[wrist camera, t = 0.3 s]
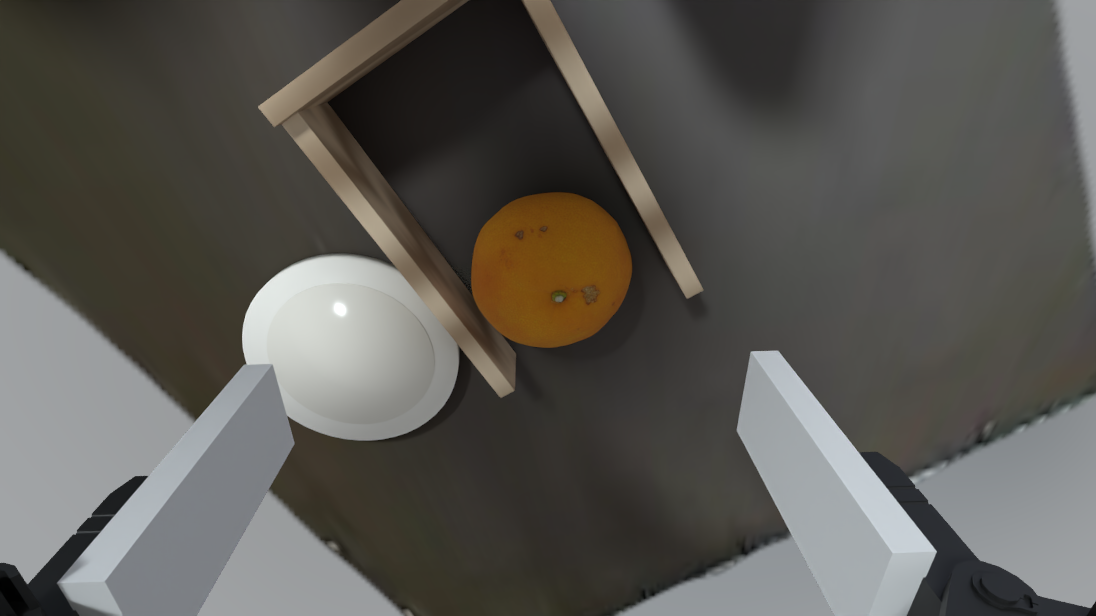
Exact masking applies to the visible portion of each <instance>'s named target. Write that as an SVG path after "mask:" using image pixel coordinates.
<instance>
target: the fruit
mask: <svg viewBox="0 0 1096 616" xmlns="http://www.w3.org/2000/svg"><path fill="white" fill-rule="evenodd" d="M631 275H632V258H631V254H630V251H629V248H628V245H627V242H626V239H625V237H624V235H623V233H622V231H621V229H620V227H619V225H618V224H617V222H616V221H615V220H614V218H613V217H611V216H610V215H609V214H608V213H607V212H606V211H605V210H604V209H603V208H602V207H600V206H599V205H598V204H596V203H595V202H593V201H592V200H590V199H587V198H585V197H582V196H580V195H577V194H574V193H567V192H549V193H540V194H534V195H529V196H525V197H521V198H519V199H516V200H514V201H512V202H510V203H509V204H507V205H506V206H504V207H503V208H502V209H501V210H499V211H498V212H497V213H496V214H495V215H494V216H493V217H492V218H491V219H490V220H488V221H487V223H486V224H485V225H484V226H483V227H482V229H481V231H480V233H479V235H478V238H477V240H476V244H475V247H474V252H473V259H472V270H471V286H472V293H473V297H474V300H475V302H476V304H477V306H478V308H479V310H480V311H481V313H482V314H483V315H484V317H485V318H486V319H487V320H488V321H489V322H490V324H491V325H492V326H493V327H494V328H495V329H496V330H497V331H498V332H500V333H501V334H502V335H504V336H505V337H507V338H508V339H510V340H512V341H514V342H517V343H520V344H524V345H528V346H533V347H542V348H553V347H559V346H565V345H569V344H572V343H575V342H578V341H581V340H583V339H586V338H588V337H590V336H592V335H594V334H595V333H597V332H598V331H599V330H600V329H601V328H602V327H603V326H604V325H605V324H606V323H607V322H608V321H609V320H610V318H611V317H612V316H613V315H614V314H615V313H616V312H617V310H618V308H619V307H620V305H621V304H622V302H623V299H624V298H625V295H626V293H627V290H628V287H629V284H630V280H631Z"/></svg>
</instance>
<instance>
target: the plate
mask: <svg viewBox="0 0 1096 616" xmlns="http://www.w3.org/2000/svg"><path fill="white" fill-rule="evenodd" d="M242 342H243V351H244V356H245V360H246V363H247V365H256V364H273V367H274V371H275V374H276V378H277V382H278V385H279V389H280V393H281V396H282V400H283V404H284V407H285V411H286V414H287V416H289V417H290V418H292V419H293V420H294V421H296V422H298V423H300V424H302V425H304V426H305V427H308V428H310V429H312V430H315V431H317V432H320V433H323V434H326V435H329V436H333V437H337V438H342V439H349V440H381V439H387V438H392V437H396V436H399V435H402V434H405V433H408V432H410V431H412V430H414V429H416V428H418V427H420V426H421V425H423V424H424V423H426V422H427V421H429V420H430V419H431V418H432V417H433V416H435V415H436V414H437V413H438V412H439V410H440V409H441V408H442V407H443V406H444V404H445V403H446V401H447V400H448V398H449V397H450V394H451V392H452V390H453V388H454V385H455V381H456V378H457V374H458V369H459V361H460V347H459V345H458V344H457V343H456V342H455V340H454V339H453V338H452V337H451V335H450V334H449V333H448V332H447V330H446V329H445V328H444V327H443V325H442V324H441V323H440V322H439V320H438V319H437V318H436V317H435V315H434V314H433V313H432V312H431V310H430V309H429V308H428V307H427V305H426V304H425V303H424V302H423V300H422V299H421V298H420V297H419V295H418V294H417V293H416V292H415V290H414V289H413V288H412V287H411V285H410V284H409V283H408V282H407V280H406V279H405V278H404V277H403V275H402V274H401V273H400V272H399V270H398V269H397V268H396V267H395V265H393V264H391V263H388V262H386V261H383V260H381V259H377V258H373V257H369V256H365V255H358V254H350V253H333V254H322V255H318V256H313V257H309V258H306V259H303V260H301V261H298V262H295V263H294V264H292V265H290V266H288V267H286V268H285V269H283V270H282V271H280V272H279V273H278V274H277V275H275V276H274V277H273V278H272V279H271V280H270V281H269V282H268V283H267V284H266V285H265V286H264V287H263V288H262V289H261V290H260V291H259V292H258V293H257V295H256V296H255V298H254V299H253V301H252V302H251V304H250V306H249V309H248V311H247V313H246V316H245V320H244V324H243V333H242Z"/></svg>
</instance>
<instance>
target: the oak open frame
mask: <svg viewBox="0 0 1096 616" xmlns="http://www.w3.org/2000/svg"><path fill="white" fill-rule="evenodd" d="M467 1H469V0H401V1H400V2H398V3H397V4H396V5H394V6H393V7H392V8H390V9H389V10H388V11H386V12H385V13H384V14H382V15H381V16H380V17H378V18H377V19H375V20H374V21H373V22H371V23H370V24H369V25H367V26H366V27H365V28H363V29H362V30H361V31H359V32H358V33H357V34H355V35H354V36H353V37H351V38H350V39H349V40H347V41H346V42H345V43H343V44H342V45H341V46H339V47H338V48H336V49H335V50H334V51H332V52H331V53H330V54H328V55H327V56H326V57H324V58H323V59H322V60H320V61H319V62H318V63H316V64H315V65H314V66H312V67H311V68H310V69H308V70H307V71H306V72H304V73H303V74H301V75H300V76H299V77H297V78H296V79H295V80H293V81H292V82H291V83H289V84H288V85H287V86H285V87H284V88H283V89H281V90H280V91H279V92H277V93H276V94H275V95H273V96H272V97H271V98H269V99H268V100H267V101H265V102H264V103H262V104H261V105H260V106H258V108H259V109H260V110H261V111H262V113H263V114H264V115H265V116H266V118H267V119H268V120H269V121H270V123H271V124H272V125H273V126H274V127H275V126H278V125H281V124H282V126H283V127H284V128H285V129H286V131H287V132H288V133H289V134H290V136H291V137H292V138H293V139H294V141H295V142H296V143H297V144H298V146H299V147H300V148H301V149H302V150H303V152H304V153H305V154H306V155H307V157H308V158H309V159H310V160H311V162H312V163H313V164H314V165H315V167H316V168H317V169H318V170H319V172H320V173H321V174H322V175H323V177H324V178H325V179H326V180H327V182H328V183H329V184H330V185H331V187H332V188H333V189H334V190H335V192H336V193H337V194H338V195H339V197H340V198H341V199H342V200H343V202H344V203H345V204H346V205H347V207H348V208H349V209H350V210H351V212H352V213H353V214H354V215H355V217H356V218H357V219H358V220H359V222H360V223H361V224H362V225H363V227H364V228H365V229H366V230H367V232H368V233H369V234H370V235H371V237H372V238H373V239H374V240H375V242H376V243H377V244H378V245H379V247H380V248H381V249H382V250H383V252H384V253H385V254H386V255H387V257H388V258H389V259H390V260H391V262H392V263H393V264H394V265H395V267H396V268H397V269H398V270H399V272H400V273H401V274H402V275H403V277H404V278H405V279H406V280H407V282H408V283H409V284H410V285H411V287H412V288H413V289H414V290H415V292H416V293H417V294H418V295H419V297H420V298H421V299H422V300H423V302H424V303H425V304H426V305H427V307H428V308H429V309H430V310H431V312H432V313H433V314H434V315H435V317H436V318H437V319H438V320H439V322H440V323H441V324H442V325H443V327H444V328H445V329H446V330H447V332H448V333H449V334H450V335H451V337H452V338H453V339H454V340H455V342H456V343H457V344H458V345H459V347H460V348H461V349H462V350H463V352H464V353H465V354H466V355H467V357H468V358H469V359H470V360H471V362H472V363H473V364H474V365H475V367H476V368H477V369H478V370H479V372H480V373H481V374H482V375H483V377H484V378H485V379H486V380H487V382H488V383H489V384H490V385H491V387H492V388H493V389H494V390H495V392H496V393H497V394H498V395H499V397H500V398H502V397H504V396H506V395H507V394H509V393H511V392H513V391H515V371H516V353H515V352H514V350H513V349H512V348H511V346H510V345H509V344H508V342H507V341H506V340H505V338H504V337H503V336H502V334H501V333H500V332H498V331H497V330H496V329H495V328H494V327H493V326H492V325H491V324H490V322H489V321H488V320H487V319H486V318H485V317H484V315H483V314H482V313H481V311H480V310H479V308H478V306H477V304H476V302H475V300H474V297H473V296H472V294H471V293H470V292H469V290H468V289H467V288H466V286H465V285H464V284H463V282H462V281H461V280H460V278H459V277H458V276H457V274H456V273H455V272H454V270H453V269H452V268H451V266H450V265H449V264H448V262H447V261H446V260H445V258H444V257H443V256H442V254H441V253H440V252H439V250H438V249H437V248H436V246H435V245H434V244H433V242H432V241H431V240H430V238H429V237H428V236H427V234H426V233H425V232H424V230H423V229H422V228H421V226H420V225H419V224H418V222H417V221H416V220H415V218H414V217H413V216H412V214H411V213H410V212H409V210H408V209H407V208H406V206H405V205H404V204H403V202H402V201H401V200H400V198H399V197H398V196H397V194H396V193H395V192H394V190H393V189H392V188H391V186H390V185H389V184H388V182H387V181H386V180H385V178H384V177H383V176H382V174H381V173H380V172H379V170H378V169H377V168H376V166H375V165H374V164H373V162H372V161H371V160H370V158H369V157H368V156H367V154H366V153H365V152H364V150H363V149H362V148H361V146H360V145H359V144H358V142H357V141H356V140H355V138H354V137H353V136H352V134H351V133H350V132H349V130H348V129H347V128H346V126H345V125H344V124H343V122H342V121H341V120H340V118H339V117H338V116H337V114H336V113H335V112H334V110H333V109H332V108H331V106H330V105H329V104H328V102H329V101H330V100H331V99H333V98H334V97H335V96H337V95H338V94H340V93H341V92H342V91H344V90H345V89H347V88H348V87H349V86H351V85H352V84H353V83H355V82H356V81H358V80H359V79H360V78H362V77H363V76H365V75H366V74H367V73H369V72H370V71H372V70H373V69H374V68H376V67H377V66H378V65H380V64H381V63H383V62H384V61H385V60H387V59H388V58H390V57H391V56H392V55H394V54H395V53H397V52H398V51H399V50H401V49H402V48H403V47H405V46H406V45H408V44H409V43H410V42H412V41H413V40H415V39H416V38H417V37H419V36H420V35H422V34H423V33H424V32H426V31H427V30H428V29H430V28H431V27H433V26H434V25H435V24H437V23H438V22H440V21H441V20H442V19H444V18H445V17H447V16H448V15H449V14H451V13H452V12H453V11H455V10H456V9H458V8H459V7H460V6H462V5H463V4H465V3H466V2H467ZM521 1H522V3H523V5H524V7H525V8H526V10H527V12H528V14H529V16H530V18H531V19H532V21H533V23H534V25H535V27H536V28H537V30H538V32H539V34H540V36H541V38H542V39H543V41H544V43H545V45H546V47H547V48H548V50H549V52H550V54H551V56H552V57H553V59H554V61H555V63H556V65H557V67H558V68H559V70H560V72H561V74H562V76H563V77H564V79H565V81H566V83H567V85H568V87H569V88H570V90H571V92H572V94H573V96H574V97H575V99H576V101H577V103H578V105H579V106H580V108H581V110H582V112H583V114H584V116H585V117H586V119H587V121H588V123H589V125H590V126H591V128H592V130H593V132H594V134H595V136H596V137H597V139H598V141H599V143H600V145H601V146H602V148H603V150H604V152H605V154H606V155H607V157H608V159H609V161H610V163H611V165H612V166H613V168H614V170H615V172H616V174H617V175H618V177H619V179H620V181H621V183H622V185H623V186H624V188H625V190H626V192H627V194H628V195H629V197H630V199H631V201H632V203H633V204H634V206H635V208H636V210H637V212H638V214H639V215H640V217H641V219H642V221H643V223H644V224H645V226H646V228H647V230H648V232H649V234H650V235H651V237H652V239H653V241H654V243H655V244H656V246H657V248H658V250H659V252H660V253H661V255H662V257H663V259H664V261H665V263H666V264H667V266H668V268H669V270H670V271H671V273H672V275H673V276H674V278H675V280H676V281H677V283H678V285H679V286H680V288H681V290H682V291H683V293H684V295H685V296H686V298H687V299H688V298H690V297H692V296H694V295H696V294H697V293H699V292H701V291H703V288H702V286H701V284H700V282H699V280H698V279H697V277H696V275H695V273H694V271H693V269H692V267H691V265H690V263H689V262H688V260H687V258H686V256H685V254H684V252H683V250H682V248H681V246H680V245H679V243H678V241H677V239H676V237H675V235H674V233H673V231H672V229H671V228H670V226H669V224H668V222H667V220H666V218H665V216H664V214H663V212H662V211H661V209H660V207H659V205H658V203H657V201H656V199H655V197H654V195H653V194H652V192H651V190H650V188H649V186H648V184H647V182H646V180H645V178H644V177H643V175H642V173H641V171H640V169H639V167H638V165H637V163H636V161H635V160H634V158H633V156H632V154H631V152H630V150H629V148H628V146H627V144H626V143H625V141H624V139H623V137H622V135H621V133H620V131H619V129H618V127H617V126H616V124H615V122H614V120H613V118H612V116H611V114H610V112H609V110H608V109H607V107H606V105H605V103H604V101H603V99H602V97H601V95H600V93H599V92H598V90H597V88H596V86H595V84H594V82H593V80H592V78H591V76H590V75H589V73H588V71H587V69H586V67H585V65H584V63H583V61H582V59H581V58H580V56H579V54H578V52H577V50H576V48H575V46H574V44H573V42H572V41H571V39H570V37H569V35H568V33H567V31H566V29H565V27H564V25H563V24H562V22H561V20H560V18H559V16H558V14H557V12H556V10H555V8H554V7H553V5H552V3H551V1H550V0H521Z"/></svg>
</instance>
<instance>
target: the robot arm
mask: <svg viewBox="0 0 1096 616" xmlns="http://www.w3.org/2000/svg"><path fill="white" fill-rule="evenodd" d="M737 432H738V434H739V436H740V438H741V440H742V442H743V443H744V445H745V447H746V449H747V451H748V453H749V455H750V457H751V459H752V460H753V462H754V464H755V466H756V468H757V470H758V472H759V474H760V476H761V478H762V479H763V481H764V483H765V485H766V487H767V489H768V491H769V493H770V495H771V497H772V498H773V500H774V502H775V504H776V506H777V508H778V510H779V512H780V514H781V516H782V517H783V519H784V521H785V523H786V525H787V527H788V529H789V531H790V533H791V534H792V536H793V538H794V540H795V542H796V544H797V546H798V548H799V550H800V552H801V553H802V555H803V557H804V559H805V561H806V563H807V565H808V567H809V568H810V570H811V572H812V574H813V576H814V578H815V580H816V582H817V583H818V586H819V587H820V589H821V591H822V593H823V595H824V597H825V599H826V601H827V603H828V605H829V607H830V608H831V610H832V612H833V614H834V616H1096V602H1095V604H1094V605H1093V606H1092V608H1087V607H1083V606H1078V605H1074V604H1069V603H1065V602H1061V601H1056V600H1052V599H1048V598H1044V597H1040V596H1037V595H1036V593H1035V592H1034V591H1033V589H1032V588H1031V587H1029V586H1028V585H1027V584H1026V583H1024V582H1023V581H1022V580H1021V579H1019V578H1018V577H1017V576H1015V575H1013V574H1011V573H1010V572H1008V571H1006V570H1004V569H1002V568H1000V567H998V566H995V565H992V564H988V563H986V562H982V561H980V560H979V559H978V558H977V557H976V556H975V555H974V554H973V552H972V551H971V550H970V549H969V548H968V547H967V546H966V544H965V543H964V542H963V541H962V540H961V538H960V537H959V536H958V535H957V534H956V533H955V531H954V530H953V529H952V528H951V527H950V526H949V525H948V523H947V522H946V521H945V520H944V519H943V517H942V516H941V515H940V514H939V513H938V512H937V510H936V509H935V508H934V507H933V506H932V505H931V504H928V500H927V499H926V498H925V497H924V495H923V494H922V493H921V492H920V491H919V489H916V488H915V485H914V484H913V483H912V481H911V480H910V479H909V478H908V477H907V476H906V474H905V473H904V472H903V471H902V470H901V469H900V467H898V466H897V465H895V464H894V463H892V462H891V461H890V460H888V459H887V458H885V457H884V456H882V455H881V454H880V453H878V452H858V451H857V450H856V449H855V447H854V446H853V445H852V444H851V442H850V441H849V440H848V439H847V437H846V436H845V435H844V434H843V432H842V431H841V430H840V428H839V427H838V426H837V425H836V423H835V422H834V421H833V420H832V418H831V417H830V416H829V415H828V413H827V412H826V411H825V409H824V408H823V407H822V406H821V404H820V403H819V402H818V401H817V399H816V398H815V397H814V396H813V394H812V393H811V392H810V390H809V389H808V388H807V387H806V385H805V384H804V383H803V382H802V380H801V379H800V378H799V377H798V375H797V374H796V373H795V372H794V370H793V369H792V368H791V366H790V365H789V364H788V363H787V361H786V360H785V359H784V358H783V356H782V355H781V354H780V353H779V351H751V353H750V359H749V364H748V370H747V375H746V381H745V387H744V392H743V398H742V403H741V409H740V415H739V420H738V426H737ZM294 444H295V443H294V440H293V436H292V433H291V429H290V425H289V422H288V418H287V414H286V411H285V407H284V404H283V400H282V396H281V393H280V389H279V385H278V382H277V378H276V374H275V371H274V367H273V364H256V365H243V367H242V368H241V369H240V370H239V371H238V372H237V374H236V375H235V376H234V377H233V378H232V379H231V381H230V382H229V383H228V384H227V385H226V386H225V388H224V389H223V390H222V391H221V392H220V393H219V395H218V396H217V397H216V398H215V399H214V400H213V402H212V403H211V404H210V405H209V406H208V407H207V409H206V410H205V411H204V412H203V413H202V414H201V416H200V417H199V418H198V419H197V420H196V421H195V423H194V424H193V425H192V426H191V427H190V428H189V430H188V431H187V432H186V433H185V434H184V435H183V437H182V438H181V439H180V440H179V442H178V443H177V444H176V445H175V446H174V447H173V448H172V449H171V451H170V452H169V453H168V454H167V455H166V456H165V458H164V459H163V460H162V461H161V462H160V463H159V465H158V466H157V467H156V468H155V469H154V470H153V472H152V473H151V474H150V475H149V476H135V477H134V478H132V479H131V480H129V481H128V482H126V483H125V484H124V485H122V486H121V487H119V488H118V489H116V490H115V491H113V492H112V493H111V494H110V495H109V496H108V497H107V498H106V499H105V500H104V501H103V502H102V503H101V504H100V506H99V507H98V508H97V509H96V510H95V511H94V512H93V513H92V517H91V518H88V519H87V520H86V521H85V522H84V523H83V524H82V525H81V526H80V527H79V529H78V530H77V533H76V535H72V537H70V539H69V540H68V541H67V542H66V543H65V544H64V545H63V546H62V547H61V548H60V550H59V551H58V552H57V553H56V554H55V555H54V556H53V557H52V558H51V559H50V561H49V562H48V563H47V564H46V565H45V566H44V567H43V568H42V569H41V570H40V572H39V573H38V574H37V575H36V576H35V577H34V578H33V579H32V580H31V581H30V583H29V584H28V585H27V584H26V582H25V581H24V579H23V577H22V576H21V574H20V573H19V572H18V570H17V568H16V567H15V566H14V565H10V564H6V563H0V616H197V614H198V612H199V610H200V609H201V607H202V605H203V604H204V602H205V600H206V598H207V597H208V595H209V593H210V591H211V589H212V588H213V586H214V584H215V583H216V581H217V579H218V577H219V575H220V574H221V572H222V570H223V568H224V567H225V565H226V563H227V561H228V560H229V558H230V556H231V554H232V553H233V551H234V549H235V547H236V546H237V544H238V542H239V540H240V539H241V537H242V535H243V533H244V532H245V530H246V528H247V526H248V525H249V523H250V521H251V519H252V518H253V516H254V514H255V512H256V510H257V509H258V507H259V505H260V503H261V502H262V500H263V498H264V496H265V495H266V493H267V491H268V489H269V488H270V486H271V484H272V482H273V481H274V479H275V477H276V475H277V474H278V472H279V470H280V468H281V467H282V465H283V463H284V461H285V460H286V458H287V456H288V454H289V453H290V451H291V449H292V447H293V446H294Z"/></svg>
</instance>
